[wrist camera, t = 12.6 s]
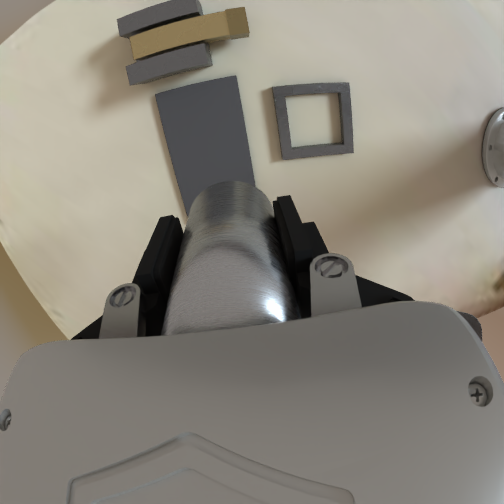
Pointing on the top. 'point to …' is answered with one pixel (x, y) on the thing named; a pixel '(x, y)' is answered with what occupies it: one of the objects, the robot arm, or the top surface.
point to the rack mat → (205, 135)
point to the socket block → (172, 62)
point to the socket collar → (321, 149)
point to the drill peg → (229, 265)
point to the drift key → (190, 33)
